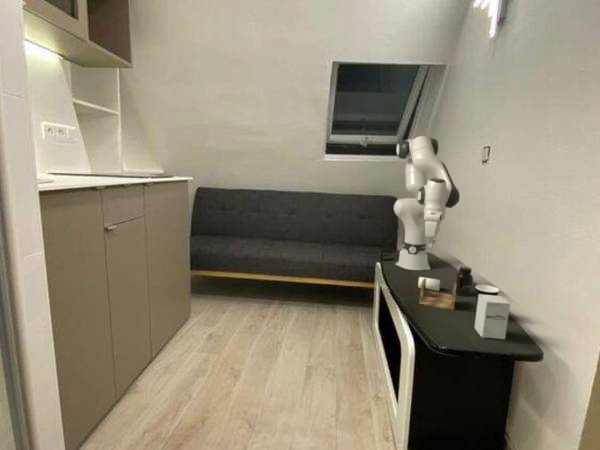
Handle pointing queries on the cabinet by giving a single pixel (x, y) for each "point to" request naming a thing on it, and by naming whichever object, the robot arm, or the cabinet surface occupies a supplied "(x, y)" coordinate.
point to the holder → (437, 297)
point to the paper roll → (430, 283)
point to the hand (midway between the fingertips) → (431, 245)
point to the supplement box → (492, 316)
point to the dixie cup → (485, 291)
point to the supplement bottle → (464, 281)
